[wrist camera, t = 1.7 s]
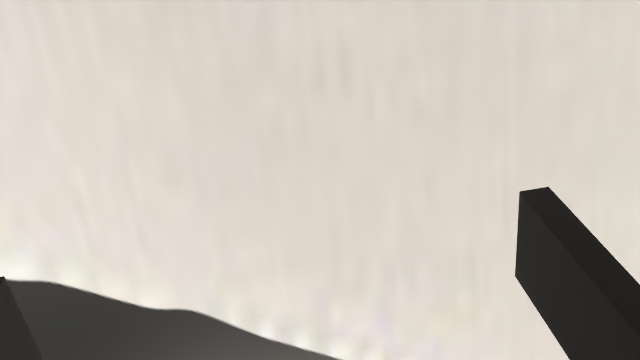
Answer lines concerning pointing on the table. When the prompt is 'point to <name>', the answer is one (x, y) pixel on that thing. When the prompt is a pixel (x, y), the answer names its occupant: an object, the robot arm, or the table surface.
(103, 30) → the table surface
